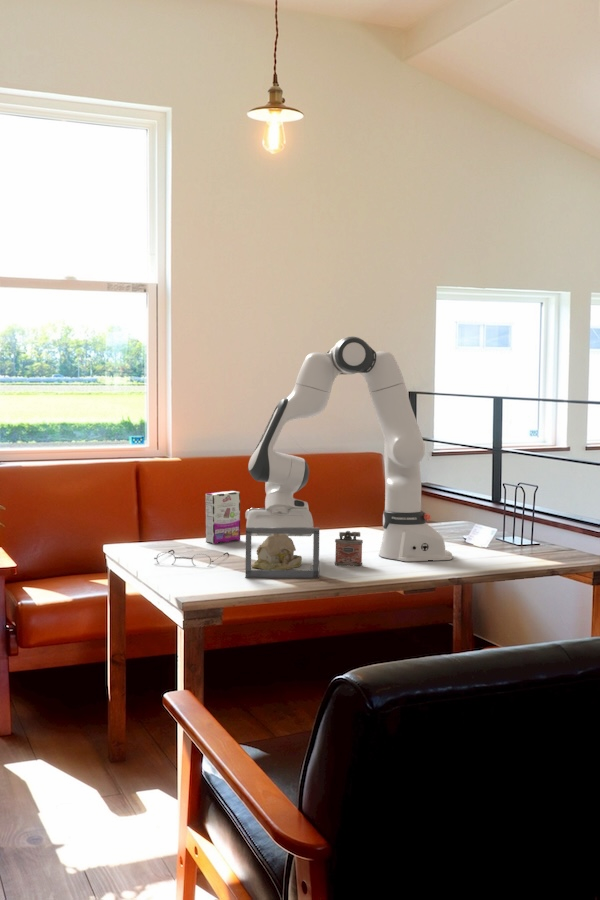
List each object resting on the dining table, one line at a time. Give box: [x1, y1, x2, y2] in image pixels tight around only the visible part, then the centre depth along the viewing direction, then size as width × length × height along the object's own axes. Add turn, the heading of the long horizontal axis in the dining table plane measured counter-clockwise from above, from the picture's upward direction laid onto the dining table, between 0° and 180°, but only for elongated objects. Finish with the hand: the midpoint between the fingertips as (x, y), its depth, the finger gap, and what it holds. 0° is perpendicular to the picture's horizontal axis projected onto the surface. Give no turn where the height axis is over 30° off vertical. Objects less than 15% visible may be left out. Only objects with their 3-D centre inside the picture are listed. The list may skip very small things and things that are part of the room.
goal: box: [244, 526, 320, 579], centre depth 258 cm, size 20×11×14 cm, turn 93°
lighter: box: [334, 530, 364, 567], centre depth 271 cm, size 8×3×10 cm, turn 82°
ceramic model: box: [251, 534, 303, 570], centre depth 269 cm, size 14×11×10 cm
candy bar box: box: [204, 490, 241, 545], centre depth 307 cm, size 11×5×16 cm, turn 131°
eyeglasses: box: [153, 549, 230, 567], centre depth 277 cm, size 18×19×4 cm
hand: (279, 546), depth 274 cm, fingers closed
